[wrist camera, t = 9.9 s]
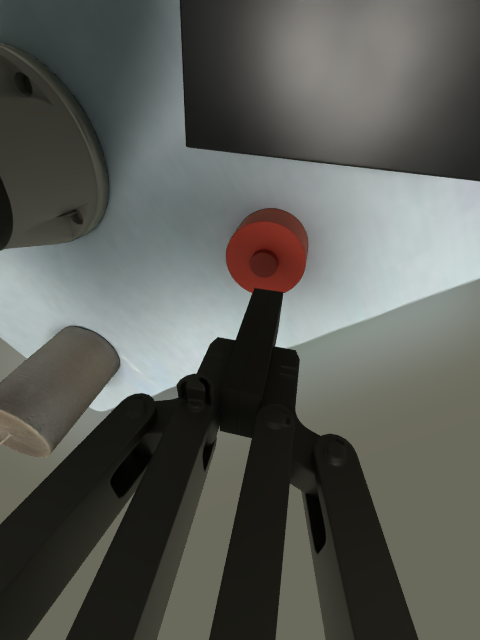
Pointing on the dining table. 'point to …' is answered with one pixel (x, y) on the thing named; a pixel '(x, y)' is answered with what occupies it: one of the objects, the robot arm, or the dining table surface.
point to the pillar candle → (54, 390)
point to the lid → (268, 251)
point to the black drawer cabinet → (336, 82)
